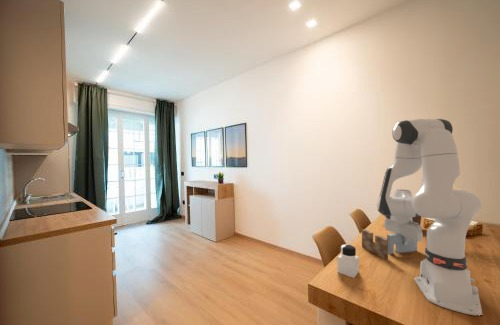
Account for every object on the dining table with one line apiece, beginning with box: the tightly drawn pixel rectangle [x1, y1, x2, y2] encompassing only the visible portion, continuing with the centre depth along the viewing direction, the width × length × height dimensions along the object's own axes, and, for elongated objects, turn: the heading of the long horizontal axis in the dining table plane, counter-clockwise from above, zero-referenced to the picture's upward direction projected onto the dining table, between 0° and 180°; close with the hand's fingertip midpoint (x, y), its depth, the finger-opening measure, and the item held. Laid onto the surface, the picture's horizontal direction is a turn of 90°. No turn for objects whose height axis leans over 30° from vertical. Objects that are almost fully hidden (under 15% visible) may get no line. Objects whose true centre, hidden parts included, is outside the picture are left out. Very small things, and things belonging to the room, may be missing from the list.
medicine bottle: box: [337, 244, 360, 279], centre depth 95 cm, size 7×7×12 cm
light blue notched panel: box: [386, 233, 418, 255], centre depth 115 cm, size 18×2×10 cm, turn 102°
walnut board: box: [361, 228, 389, 260], centre depth 115 cm, size 16×2×10 cm, turn 12°
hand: (402, 243), depth 115 cm, fingers closed on light blue notched panel, 2 cm apart
